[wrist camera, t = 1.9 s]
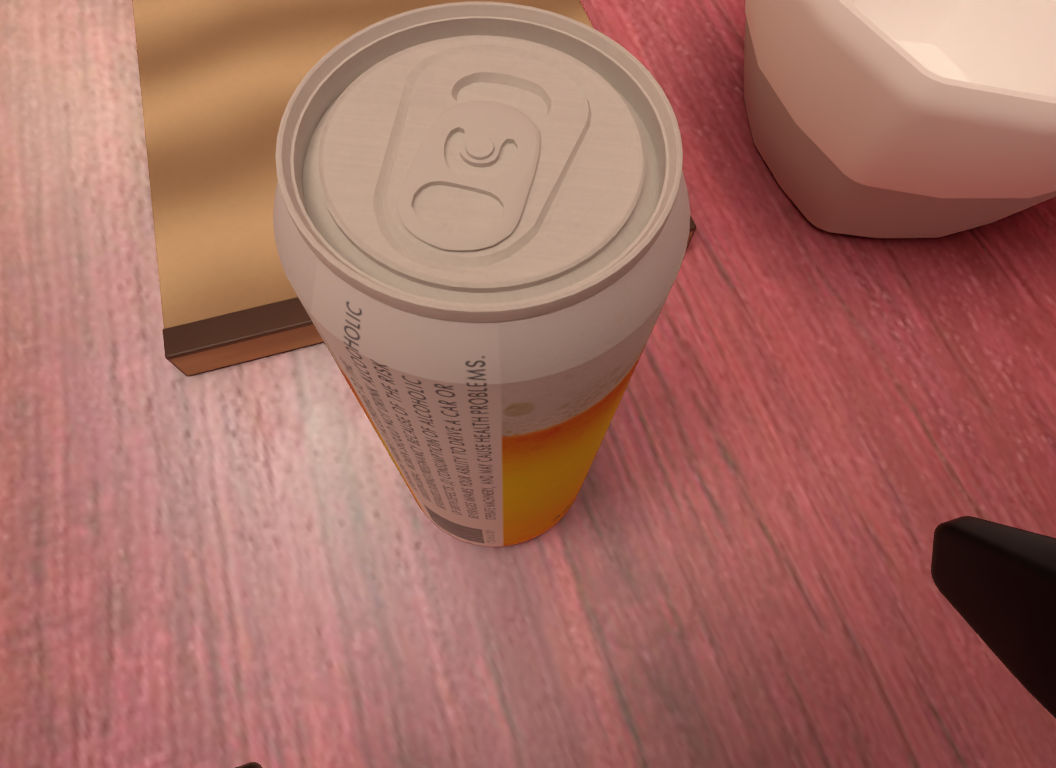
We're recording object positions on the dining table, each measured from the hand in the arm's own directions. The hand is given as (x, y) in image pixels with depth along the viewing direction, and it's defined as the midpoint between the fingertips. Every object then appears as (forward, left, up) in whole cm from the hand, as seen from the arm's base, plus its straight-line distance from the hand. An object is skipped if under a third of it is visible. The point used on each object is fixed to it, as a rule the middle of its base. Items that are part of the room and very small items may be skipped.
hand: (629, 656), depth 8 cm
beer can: (+6, +3, -13) cm, 14 cm away
